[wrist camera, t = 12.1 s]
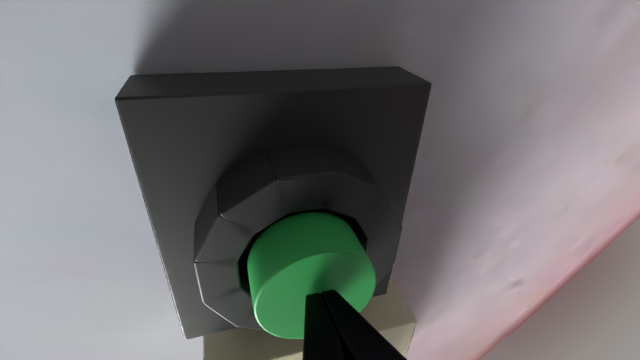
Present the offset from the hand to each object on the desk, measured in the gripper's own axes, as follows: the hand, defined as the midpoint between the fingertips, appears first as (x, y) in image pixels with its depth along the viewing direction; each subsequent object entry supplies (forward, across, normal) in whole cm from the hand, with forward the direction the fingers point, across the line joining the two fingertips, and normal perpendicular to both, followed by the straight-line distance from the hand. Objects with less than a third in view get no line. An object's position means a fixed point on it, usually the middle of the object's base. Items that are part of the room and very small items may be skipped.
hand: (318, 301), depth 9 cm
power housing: (+6, 0, 0) cm, 6 cm away
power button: (+2, 0, 0) cm, 2 cm away
